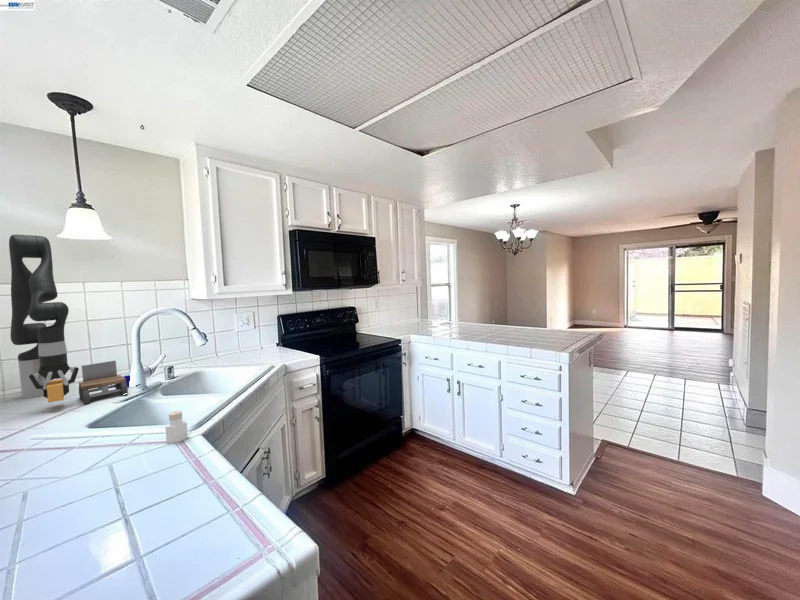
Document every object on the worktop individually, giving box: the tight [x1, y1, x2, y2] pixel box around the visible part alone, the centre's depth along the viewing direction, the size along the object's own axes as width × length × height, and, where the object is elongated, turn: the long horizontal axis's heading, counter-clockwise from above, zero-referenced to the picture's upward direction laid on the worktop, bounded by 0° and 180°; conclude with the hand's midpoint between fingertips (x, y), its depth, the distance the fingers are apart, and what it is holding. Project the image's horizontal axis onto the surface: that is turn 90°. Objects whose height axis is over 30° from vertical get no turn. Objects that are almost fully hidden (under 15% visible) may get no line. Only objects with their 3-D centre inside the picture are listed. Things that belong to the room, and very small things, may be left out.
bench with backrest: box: [78, 360, 129, 405], centre depth 141 cm, size 16×14×14 cm
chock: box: [47, 378, 65, 403], centre depth 129 cm, size 4×12×6 cm, turn 44°
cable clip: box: [123, 374, 131, 387], centre depth 160 cm, size 12×4×6 cm, turn 20°
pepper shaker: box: [165, 410, 189, 444], centre depth 95 cm, size 4×4×10 cm
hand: (56, 395), depth 129 cm, fingers closed on chock, 4 cm apart
